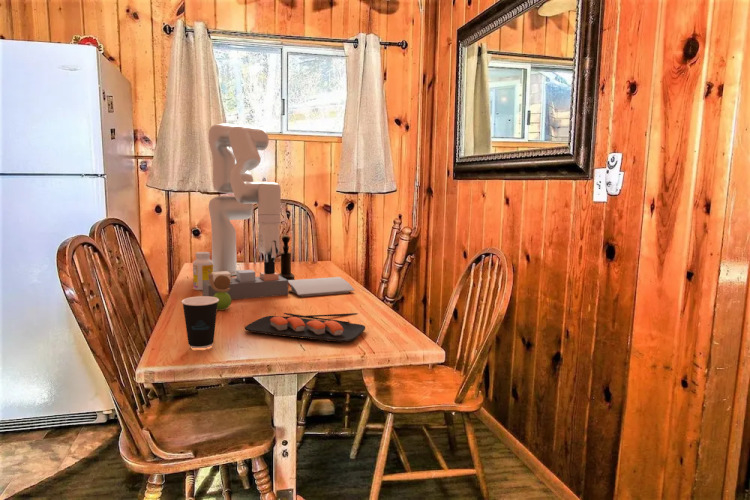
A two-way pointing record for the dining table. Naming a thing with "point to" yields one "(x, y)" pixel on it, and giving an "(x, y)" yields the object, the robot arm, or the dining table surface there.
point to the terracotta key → (269, 276)
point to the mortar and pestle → (286, 260)
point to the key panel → (251, 288)
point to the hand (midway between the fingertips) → (269, 273)
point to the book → (320, 286)
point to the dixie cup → (200, 320)
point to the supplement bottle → (201, 269)
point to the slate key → (245, 276)
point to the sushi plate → (308, 327)
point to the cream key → (216, 274)
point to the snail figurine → (221, 290)
